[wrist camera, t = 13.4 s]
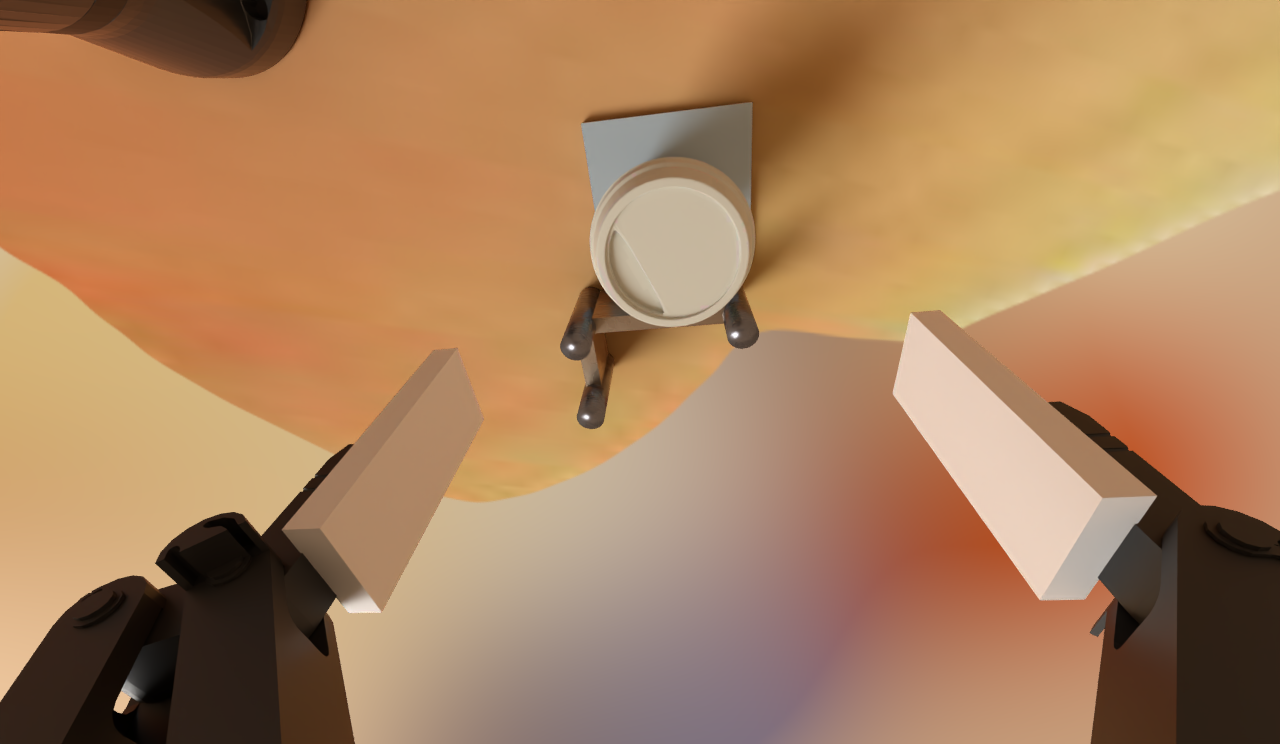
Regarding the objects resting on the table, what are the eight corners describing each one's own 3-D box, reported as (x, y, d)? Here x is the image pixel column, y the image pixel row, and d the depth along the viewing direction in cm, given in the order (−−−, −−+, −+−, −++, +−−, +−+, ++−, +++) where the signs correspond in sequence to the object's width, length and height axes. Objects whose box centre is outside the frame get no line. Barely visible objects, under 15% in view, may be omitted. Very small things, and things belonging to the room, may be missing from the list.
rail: (577, 288, 37) (557, 335, 30) (741, 273, 36) (759, 319, 29) (593, 372, 41) (579, 429, 34) (741, 361, 40) (756, 419, 33)
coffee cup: (610, 130, 30) (582, 157, 20) (741, 138, 30) (779, 169, 20) (609, 257, 35) (585, 331, 25) (722, 264, 35) (745, 341, 25)
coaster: (582, 122, 30) (580, 123, 30) (751, 101, 29) (752, 102, 29) (607, 279, 36) (606, 282, 36) (748, 267, 35) (749, 269, 35)
